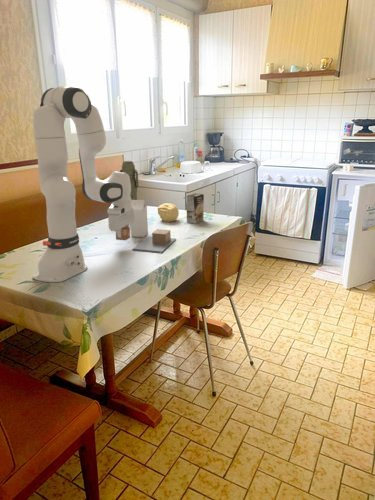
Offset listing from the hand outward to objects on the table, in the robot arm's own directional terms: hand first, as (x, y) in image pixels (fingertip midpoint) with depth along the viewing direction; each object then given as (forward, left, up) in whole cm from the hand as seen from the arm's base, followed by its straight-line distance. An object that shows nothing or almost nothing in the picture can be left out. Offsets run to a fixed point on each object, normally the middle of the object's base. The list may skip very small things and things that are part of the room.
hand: (123, 235), depth 179 cm
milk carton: (+22, +1, -7) cm, 23 cm away
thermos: (+50, +19, -7) cm, 54 cm away
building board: (+9, -13, -7) cm, 17 cm away
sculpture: (+54, -4, -7) cm, 54 cm away
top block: (0, 0, -2) cm, 2 cm away
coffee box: (+56, -20, -7) cm, 59 cm away
